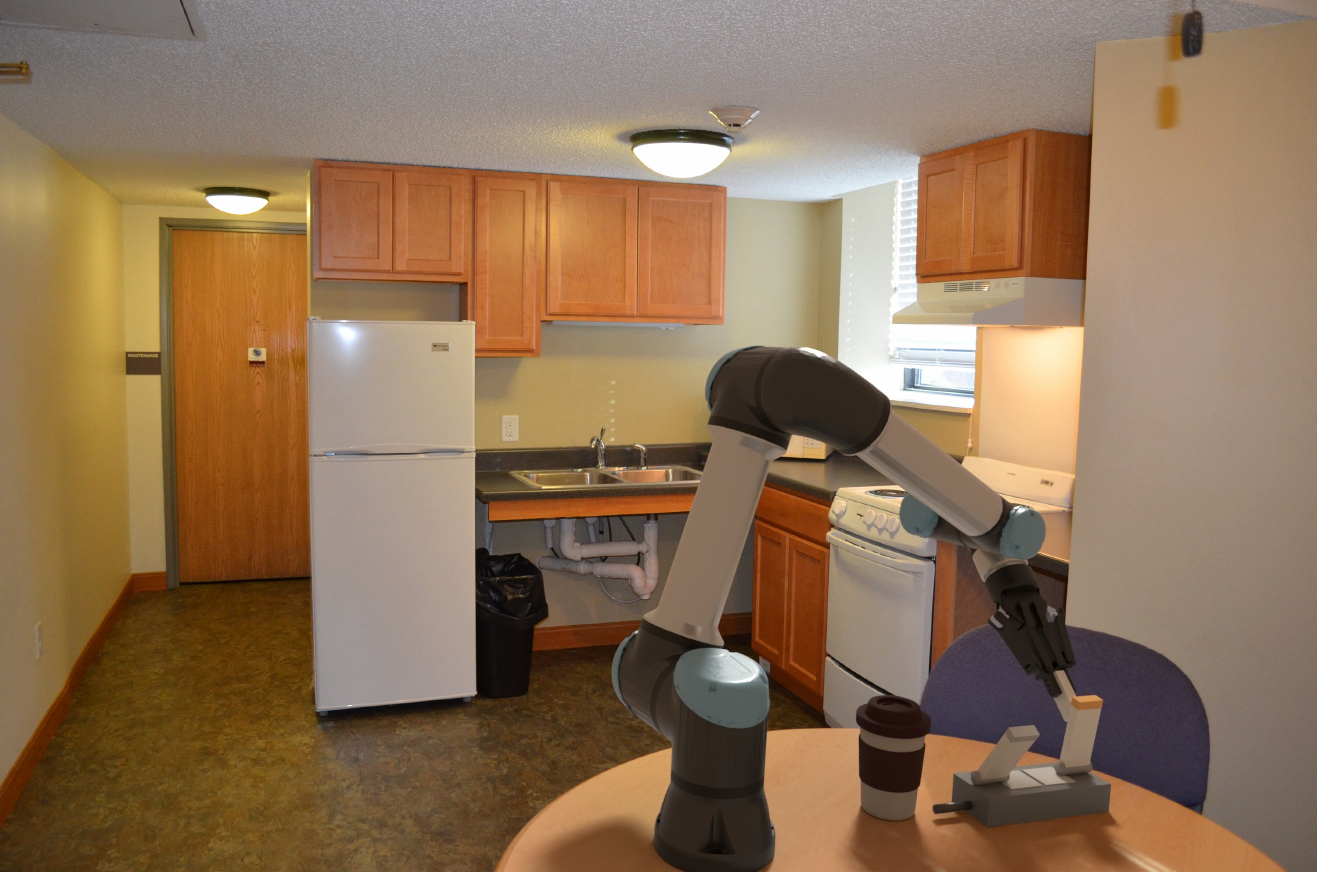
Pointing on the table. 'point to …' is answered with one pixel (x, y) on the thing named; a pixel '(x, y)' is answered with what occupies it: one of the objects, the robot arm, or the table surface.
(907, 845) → the table surface
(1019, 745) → the grey-capped paddle
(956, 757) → the table surface
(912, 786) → the coffee cup
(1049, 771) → the power strip
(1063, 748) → the orange-capped paddle
